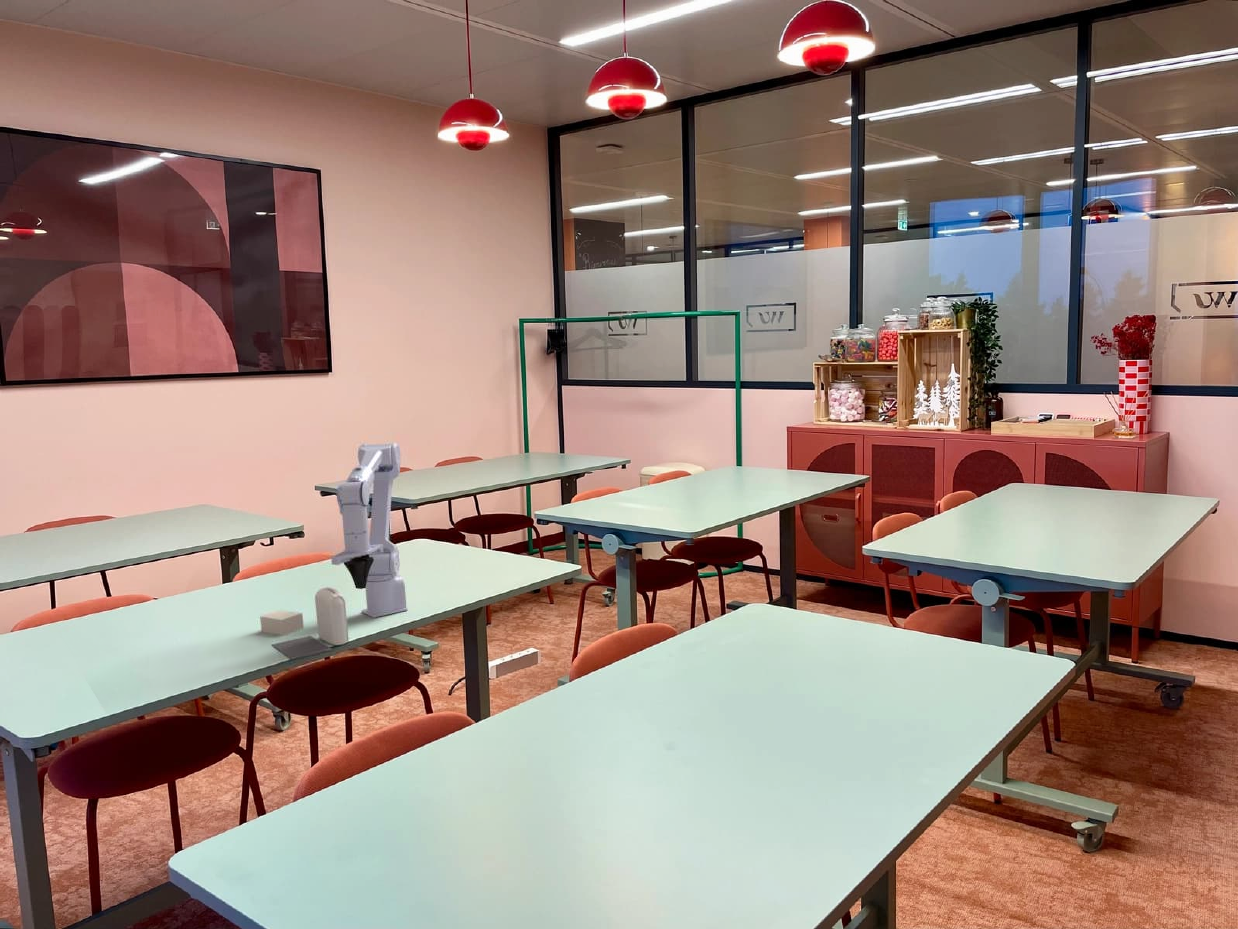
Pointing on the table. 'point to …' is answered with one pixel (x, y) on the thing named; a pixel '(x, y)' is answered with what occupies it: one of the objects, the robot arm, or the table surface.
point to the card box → (281, 622)
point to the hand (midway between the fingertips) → (360, 588)
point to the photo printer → (331, 616)
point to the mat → (301, 647)
